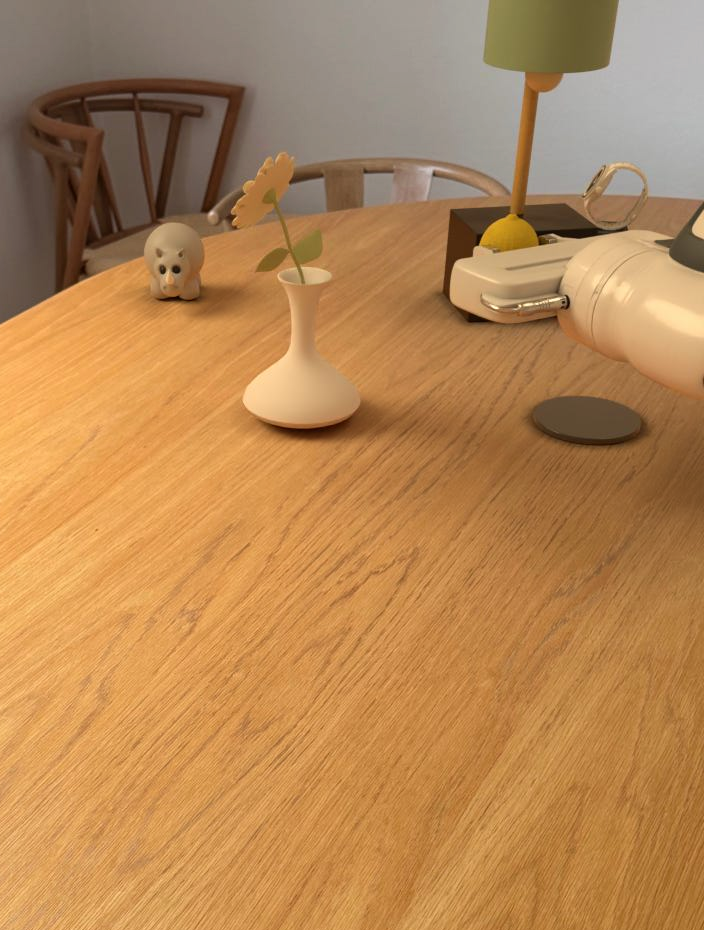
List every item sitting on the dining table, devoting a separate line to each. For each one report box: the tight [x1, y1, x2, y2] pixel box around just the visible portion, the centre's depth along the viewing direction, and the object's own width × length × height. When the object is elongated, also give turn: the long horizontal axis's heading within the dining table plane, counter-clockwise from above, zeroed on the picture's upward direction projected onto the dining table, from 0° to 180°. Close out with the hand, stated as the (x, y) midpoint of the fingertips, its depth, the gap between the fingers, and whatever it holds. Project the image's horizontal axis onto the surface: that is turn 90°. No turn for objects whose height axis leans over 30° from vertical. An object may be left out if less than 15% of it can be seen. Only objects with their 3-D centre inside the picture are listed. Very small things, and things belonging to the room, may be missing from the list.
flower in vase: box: [230, 151, 362, 430], centre depth 115 cm, size 13×11×25 cm
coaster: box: [532, 395, 642, 446], centre depth 121 cm, size 10×10×1 cm
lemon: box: [479, 214, 539, 253], centre depth 113 cm, size 6×6×8 cm
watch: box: [581, 161, 649, 236], centre depth 161 cm, size 6×8×11 cm
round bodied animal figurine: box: [143, 221, 206, 301], centre depth 147 cm, size 7×12×8 cm, turn 176°
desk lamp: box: [442, 0, 620, 323], centre depth 138 cm, size 13×14×34 cm
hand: (511, 248), depth 112 cm, fingers closed on lemon, 5 cm apart
